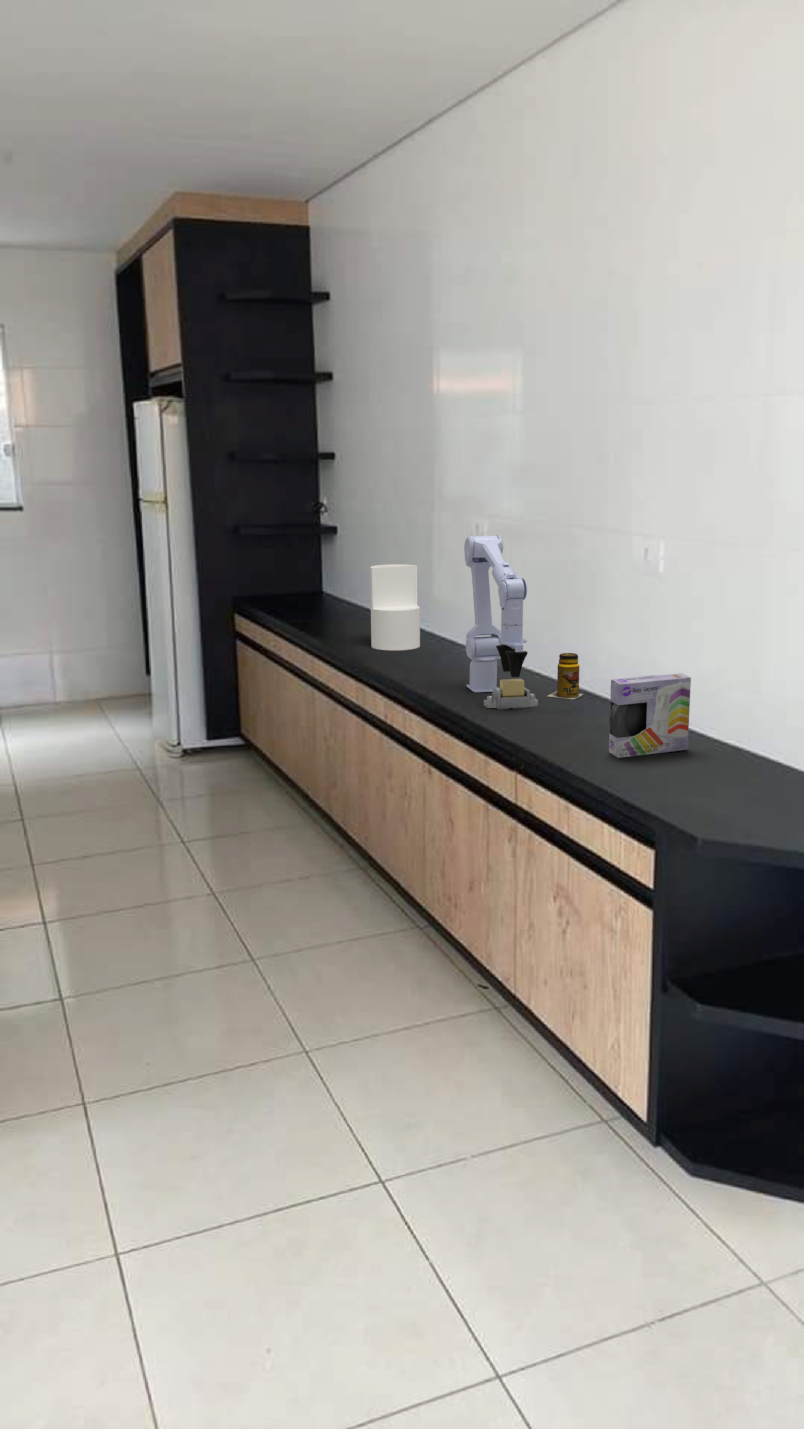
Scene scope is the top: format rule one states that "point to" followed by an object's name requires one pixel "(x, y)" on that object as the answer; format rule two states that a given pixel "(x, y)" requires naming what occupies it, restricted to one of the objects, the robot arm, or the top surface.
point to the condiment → (567, 677)
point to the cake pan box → (649, 714)
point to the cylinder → (394, 607)
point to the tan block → (512, 688)
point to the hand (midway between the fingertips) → (511, 674)
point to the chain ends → (510, 700)
